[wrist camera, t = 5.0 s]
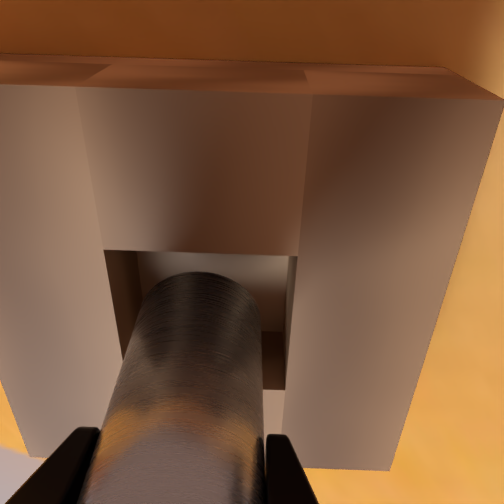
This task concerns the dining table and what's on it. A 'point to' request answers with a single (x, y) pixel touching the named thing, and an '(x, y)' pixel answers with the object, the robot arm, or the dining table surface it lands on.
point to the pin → (186, 401)
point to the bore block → (234, 229)
